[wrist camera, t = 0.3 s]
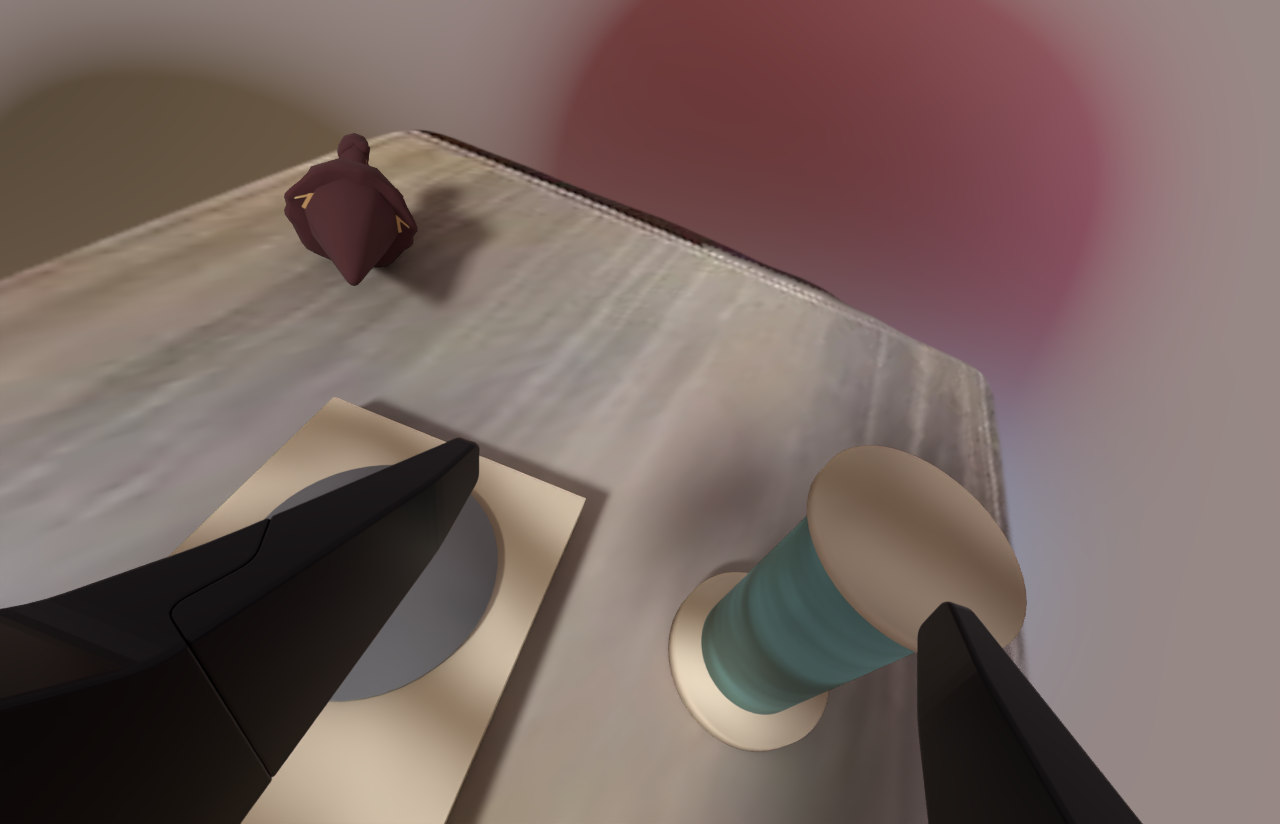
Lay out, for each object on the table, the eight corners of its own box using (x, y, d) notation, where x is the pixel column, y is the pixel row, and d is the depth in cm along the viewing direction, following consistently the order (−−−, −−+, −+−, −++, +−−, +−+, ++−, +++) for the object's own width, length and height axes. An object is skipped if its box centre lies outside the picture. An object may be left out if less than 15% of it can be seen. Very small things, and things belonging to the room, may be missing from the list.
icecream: (436, 243, 29) (416, 141, 38) (275, 203, 25) (296, 99, 34) (412, 340, 33) (399, 225, 42) (269, 318, 28) (290, 197, 38)
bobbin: (813, 779, 22) (1078, 724, 13) (649, 713, 22) (791, 608, 13) (819, 612, 27) (1011, 484, 18) (687, 559, 27) (808, 402, 18)
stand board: (319, 1114, 14) (303, 1142, 12) (-161, 920, 14) (-226, 926, 13) (581, 512, 27) (587, 495, 26) (339, 414, 27) (332, 392, 26)
